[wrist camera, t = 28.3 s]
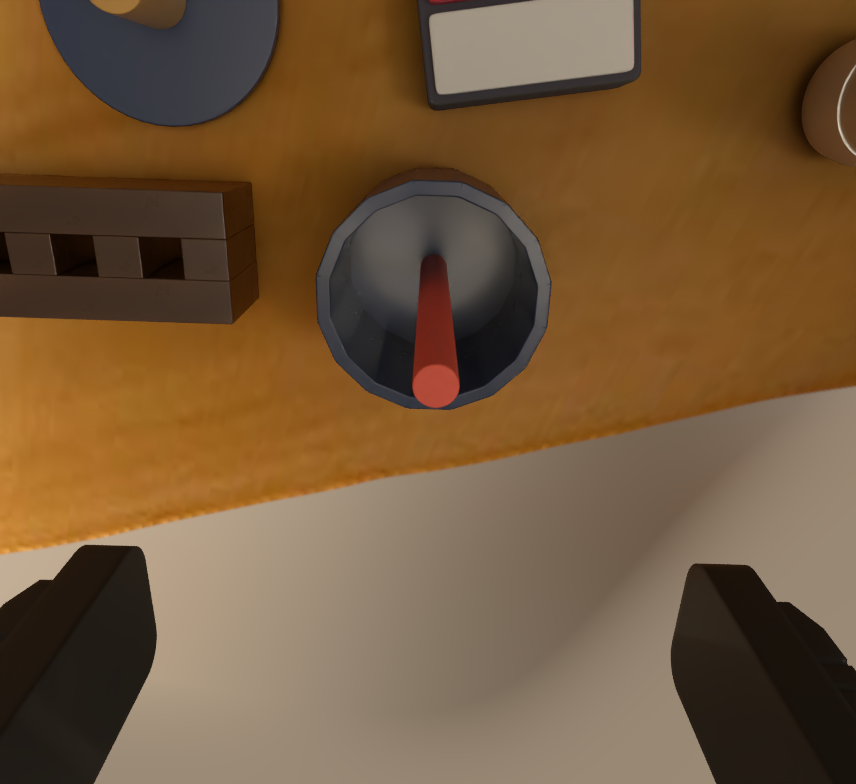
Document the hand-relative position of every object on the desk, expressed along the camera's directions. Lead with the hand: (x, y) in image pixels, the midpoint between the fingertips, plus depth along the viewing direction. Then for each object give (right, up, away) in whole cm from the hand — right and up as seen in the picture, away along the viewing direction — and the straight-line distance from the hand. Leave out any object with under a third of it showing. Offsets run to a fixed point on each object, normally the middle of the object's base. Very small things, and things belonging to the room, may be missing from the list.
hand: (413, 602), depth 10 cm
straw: (+1, +11, +31) cm, 33 cm away
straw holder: (-19, +13, +31) cm, 38 cm away
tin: (0, +11, +32) cm, 33 cm away
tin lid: (-14, +24, +26) cm, 38 cm away
